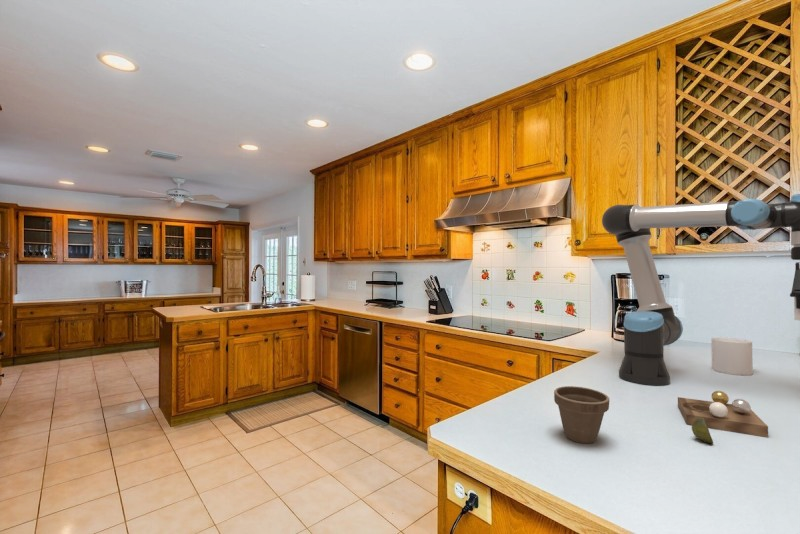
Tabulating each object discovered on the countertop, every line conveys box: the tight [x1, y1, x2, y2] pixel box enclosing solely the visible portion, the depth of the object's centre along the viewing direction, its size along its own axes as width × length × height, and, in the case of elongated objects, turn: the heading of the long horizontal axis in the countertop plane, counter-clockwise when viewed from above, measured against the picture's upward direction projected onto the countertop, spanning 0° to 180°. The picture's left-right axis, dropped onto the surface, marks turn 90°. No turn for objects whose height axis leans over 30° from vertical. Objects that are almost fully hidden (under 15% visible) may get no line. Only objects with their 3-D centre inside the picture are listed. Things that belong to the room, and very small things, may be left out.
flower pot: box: [553, 385, 610, 444], centre depth 87 cm, size 12×11×10 cm
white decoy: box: [709, 401, 728, 417], centre depth 93 cm, size 4×4×4 cm
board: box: [677, 396, 769, 438], centre depth 97 cm, size 15×15×2 cm
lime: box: [691, 418, 714, 444], centre depth 85 cm, size 4×5×5 cm
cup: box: [711, 336, 754, 377], centre depth 145 cm, size 12×12×12 cm
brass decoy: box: [711, 390, 730, 404], centre depth 102 cm, size 4×4×4 cm
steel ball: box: [731, 398, 752, 414], centre depth 95 cm, size 4×4×4 cm
